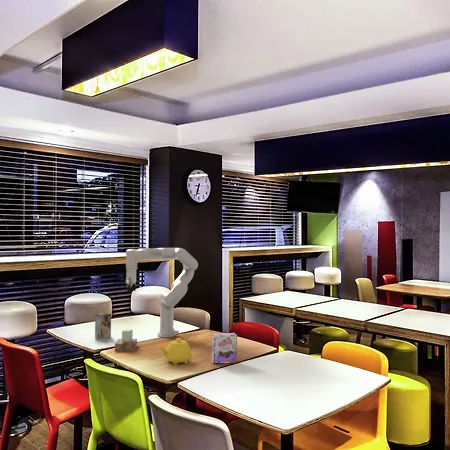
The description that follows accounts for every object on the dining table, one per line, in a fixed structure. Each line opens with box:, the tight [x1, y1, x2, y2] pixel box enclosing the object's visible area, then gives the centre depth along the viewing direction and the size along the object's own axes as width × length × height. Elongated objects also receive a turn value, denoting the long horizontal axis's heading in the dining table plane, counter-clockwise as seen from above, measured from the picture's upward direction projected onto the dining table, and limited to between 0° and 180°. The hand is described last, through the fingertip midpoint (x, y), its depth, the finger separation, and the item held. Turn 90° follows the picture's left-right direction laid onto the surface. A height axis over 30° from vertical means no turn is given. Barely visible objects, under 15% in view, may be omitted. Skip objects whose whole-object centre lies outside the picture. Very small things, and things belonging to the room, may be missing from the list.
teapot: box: [158, 337, 193, 365], centre depth 263 cm, size 20×16×14 cm
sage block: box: [121, 328, 134, 342], centre depth 291 cm, size 5×5×7 cm
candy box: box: [210, 332, 238, 363], centre depth 266 cm, size 14×6×16 cm, turn 105°
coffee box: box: [94, 312, 112, 340], centre depth 318 cm, size 9×6×16 cm
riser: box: [114, 338, 138, 352], centre depth 291 cm, size 12×12×5 cm
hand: (131, 291), depth 317 cm, fingers open, 9 cm apart
